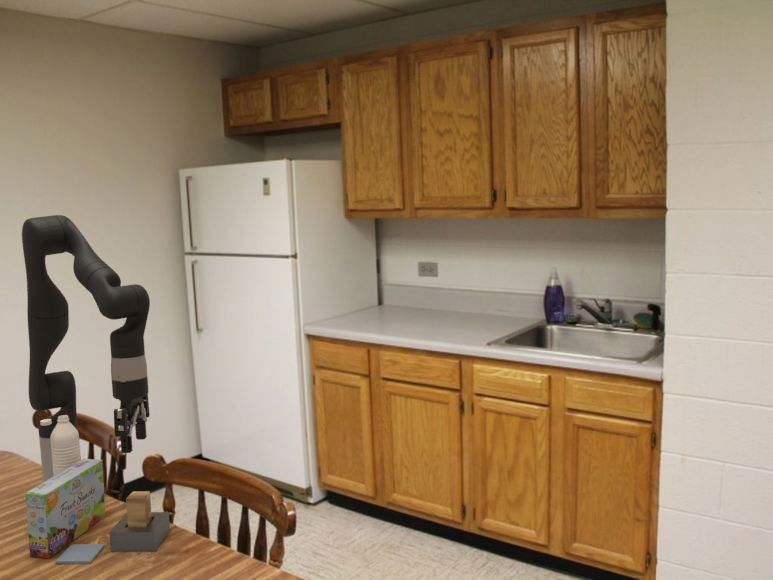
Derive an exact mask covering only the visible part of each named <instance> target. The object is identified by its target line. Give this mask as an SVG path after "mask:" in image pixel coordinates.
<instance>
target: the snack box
mask: <svg viewBox="0 0 773 580" xmlns="http://www.w3.org/2000/svg"><path fill="white" fill-rule="evenodd" d="M103 462H104V461H103V459H93V458H83V459H81V461H79V462H78V463H76V464H74V465H72V466H71V467H69V468H67V469H66V470H64V471H62V472H60V473H59V474H57V475H55V476H54V477H52V478H50V479H48V480H47V481H45V482H43V481H42V483H40V484H38V485H36V486H35V487H33V488H31V489H29V490H28V491H26V492H25V502H26V503H25V505H26V516H27V517H26V518H27V520H26V521H27V532H28V533H27V534H28V546H29V557H33V558H34V557H35V558H41V559H51V558H52V557H53V556H55V555H56V554H57V553H59V552H60V551H61V550H63V549H64V548H65V547H67V546H68V545H70V544H71V543H72V542H73V541H75V540H76V539H78V538H79V537H80V536H82V535H83V534H85V533H86V532H87V531H89V530H90V529H91V528H93V527H94V526H96V524H98V523H99V522H101V521H102V520H103V519H105V518H106V498H105V486H104V485H105V481H104V466H103V465H104V463H103Z"/></svg>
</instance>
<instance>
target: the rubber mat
mask: <svg viewBox="0 0 773 580" xmlns="http://www.w3.org/2000/svg"><path fill="white" fill-rule="evenodd" d="M105 547H106V544H105V543H98V544H97V543H92V544H91V543H88V544H87V543H80V544H77V543H73V544H70V546H69V547H67V549H66V550H65V551H64V552H63V553H62V554H61V555H60V556H59V557H58V558H57V559H56V561H55V565H91V564H92V563H93V562H94V560H95V559H96V558H97V556H98V555H99V554H100V553H101V552H102V551H103V550H104V548H105Z"/></svg>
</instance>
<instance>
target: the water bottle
mask: <svg viewBox="0 0 773 580" xmlns="http://www.w3.org/2000/svg"><path fill="white" fill-rule="evenodd" d="M57 421H58V423H57V425H56V427H55V428H54V430H53V431H52V433H51V436H50V442H51V449H52V450H51V452H52V462H53V463H52V464H53V474H54V476H55V475H57V474H59V473H60V472H62V471H64V470H66V469H67V468H69V467H71V466H72V465H74V464H76V463H78V462H79V461H81V460H82V459H81V458H82V457H81V449H80V448H81V447H80V434H79V431H77V429H78V428H77V429H76V428H75V427H74V426H73V425H72V424H71V423H70V422H69V418H68V415H61V416H59V417H58V420H57ZM39 422H40V423H39V425H40V424H41V426H46V425H50V424H52V420H51V419H49V418H44V419H41V420H40V421H39ZM49 423H50V424H49ZM42 424H46V425H42Z"/></svg>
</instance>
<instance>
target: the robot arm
mask: <svg viewBox="0 0 773 580" xmlns="http://www.w3.org/2000/svg"><path fill="white" fill-rule="evenodd" d="M21 227H22V228H21V242H22V250H23V259H24V265H25V273H26V289H27V290H26V292H27V306H26V307H27V309H26V311H27V329H28V330H27V331H28V342H29V343H28V345H29V363H28V364H29V366H28V368H29V369H28V400H29V404H30V406H31V409H33V410H34V411H47V410H48V411H49V410H53V409H59V410H58V411H57V412H56V413H55V414H54V415H52V416H50V417H48V419H51V420H52V424H50V423H49V424H50V425H46V424H42V425H46V426H41V424H40V423H39V425H38V437H39V450H40V459H41V460H40V461H41V462H40V463H41V474H42V483H43V482H45V481H47V480H48V479H50V478H52V477H54V474H53V464H52V463H53V462H52V452H51V450H52V449H51V442H50V436H51V433H52V431H53V430H54V428H55V427H56V425H57V423H58V421H57V420H58V417H59V416H61V415H68V418H69V422H70V423H71V424H72V425H73V426H74V427H75V428H76V429H77V431H78V414H77V387H76V384H77V383H76V379H75V377H74V375H73V373H72V371H69V370H62V371H55V372H49V373H48V372H47V373H46V370H47V367H48V364H49V361H50V359H51V358H52V356H53V355H54V353H55V351H57V349H58V348H59V346H60V344H61V343H62V341H63V340H64V338H65V337H66V336H67V333H68V331H69V328H70V327H69V325H70V322H69V321H70V318H69V315H70V314H69V311H70V309H69V303H68V300H67V298H66V297H65V295H64V294H63V292H62V291H61V290H60V289H59V288H58V286H57V285H56V284H55V282H53V281H52V279H51V277H50V275H49V274H48V271H47V270H48V269H47V265H46V258H47V257H46V256H51V255H53V256H54V255H58V254H65V253H68V254H71V255H72V256H73V257H74V258H73V267H72V269H73V273H74V276H75V278H76V280H77V281H78V283H80V284H81V286H83V288H85V289H86V290H87V292H89V293H90V294H91V295H92V297H93V300H94V301H95V303H96V306H97V308H98V310H99V313H100V314H101V316H103V317H105V318H106V319H108V320H120V319H125V321H124V323H123V325H122V326H120V327H118V328H116V329H114V330H113V331H112V332H110V334H109V344H110V360H111V361H110V376H111V378H110V379H111V388H112V397H113V398H114V399H116V400H118V401H119V402H120V406H119V408H114V409H113V425H114V426H113V427H114V437H120V450H121V453H123V454H131V453H132V451H133V437H132V431H133V428H135V439H136V440H145V439H147V424H146V423H147V421H148V418H150V415H151V414H150V404H149V378H148V364H147V359H146V352H145V337H144V335H145V331H146V326H147V322H148V316H149V312H150V307H151V305H150V303H151V300H150V296H149V293H148V291H147V290H146V288H145V287H143V285H140V284H137V283H136V284H127V285H121V284H122V281H121V277H120V276H119V274H118V273H117V271H115V269H113V268H112V267H110V265H108V264H107V263H106V262H105V261H104V260H103V258H101V257H100V256H99V255H98V254H97V253H96V252H95V251H94V249H93V248H92V246H91V245H90V243H89V242H88V241H87V239H86V237H85V236H84V235H83V233H82V232H81V231H80V229H79V228H78V227H77V225H76V224H75V223H74V222H73V221H72V219H70V217H67V216H66V215H62V214H61V215H60V214H56V215H55V214H54V215H47V216H37V217H36V216H35V217H30V218H27V219H26V220H25V221H24V222H23V225H22V226H21ZM78 432H79V431H78Z"/></svg>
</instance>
